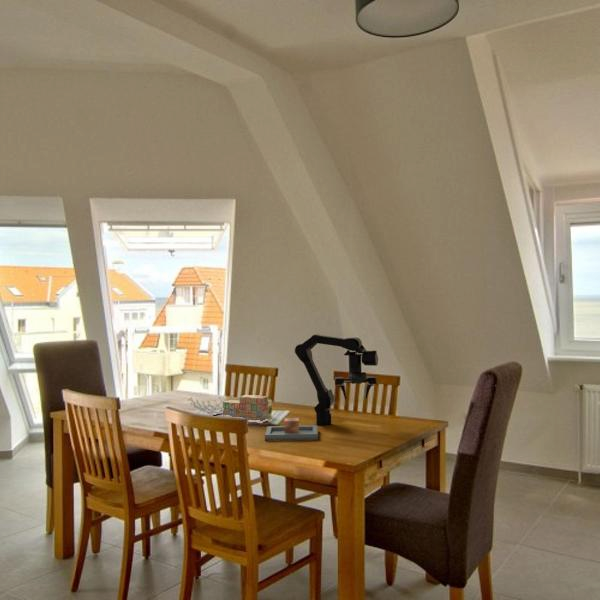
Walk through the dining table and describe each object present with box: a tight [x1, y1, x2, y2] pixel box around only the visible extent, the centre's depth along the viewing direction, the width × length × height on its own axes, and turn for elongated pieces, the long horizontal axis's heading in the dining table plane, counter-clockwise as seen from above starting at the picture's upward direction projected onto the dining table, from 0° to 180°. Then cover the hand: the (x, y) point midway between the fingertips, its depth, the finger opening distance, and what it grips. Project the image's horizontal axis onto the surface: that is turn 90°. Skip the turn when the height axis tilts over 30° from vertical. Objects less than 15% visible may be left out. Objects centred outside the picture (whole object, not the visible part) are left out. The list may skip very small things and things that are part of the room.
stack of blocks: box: [222, 394, 269, 421], centre depth 287 cm, size 21×6×12 cm, turn 67°
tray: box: [264, 424, 319, 441], centre depth 255 cm, size 22×16×2 cm
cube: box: [283, 417, 300, 433], centre depth 255 cm, size 6×6×6 cm
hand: (355, 399), depth 271 cm, fingers open, 9 cm apart
